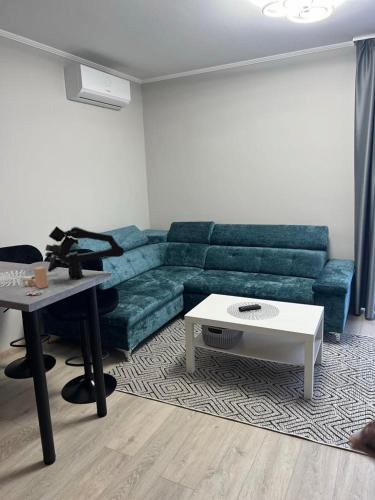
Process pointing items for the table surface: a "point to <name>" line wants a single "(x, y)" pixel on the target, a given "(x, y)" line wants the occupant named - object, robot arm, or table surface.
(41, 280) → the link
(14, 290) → the table surface
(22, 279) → the keeper
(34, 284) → the pintle
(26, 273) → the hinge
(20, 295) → the table surface
